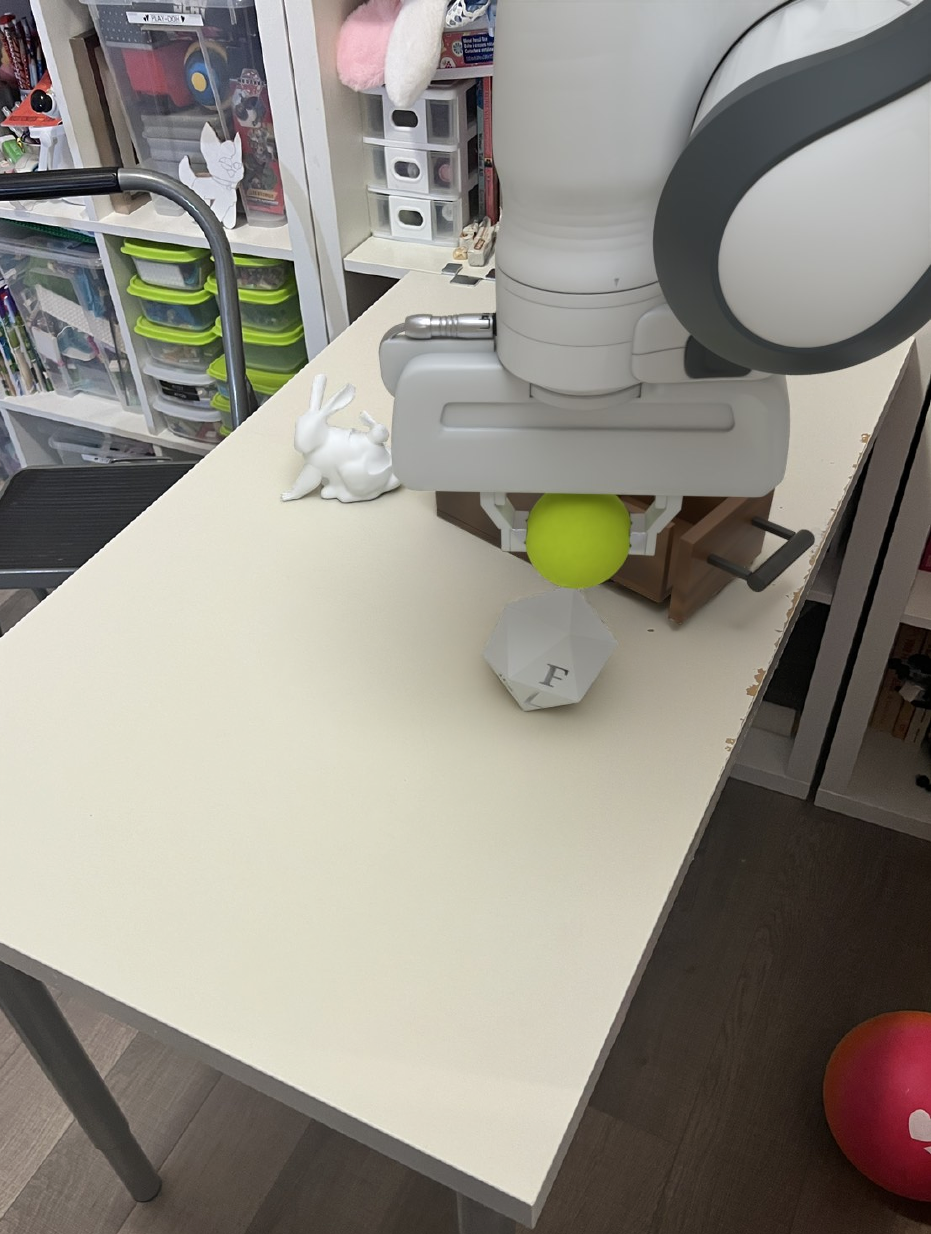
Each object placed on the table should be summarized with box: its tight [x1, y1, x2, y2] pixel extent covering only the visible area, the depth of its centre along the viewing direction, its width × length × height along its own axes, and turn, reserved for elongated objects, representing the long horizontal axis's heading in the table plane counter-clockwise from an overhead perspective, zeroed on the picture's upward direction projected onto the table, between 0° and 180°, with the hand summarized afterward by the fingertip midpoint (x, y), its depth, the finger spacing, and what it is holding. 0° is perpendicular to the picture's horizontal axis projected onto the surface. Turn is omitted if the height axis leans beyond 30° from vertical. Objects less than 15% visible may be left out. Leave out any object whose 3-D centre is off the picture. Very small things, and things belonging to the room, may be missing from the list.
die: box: [481, 587, 619, 712], centre depth 75 cm, size 8×9×10 cm
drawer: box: [608, 487, 816, 625], centre depth 82 cm, size 18×11×8 cm, turn 45°
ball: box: [525, 493, 631, 590], centre depth 58 cm, size 6×6×6 cm
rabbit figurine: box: [279, 373, 402, 503], centre depth 95 cm, size 12×8×10 cm, turn 78°
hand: (578, 547), depth 59 cm, fingers closed on ball, 6 cm apart
